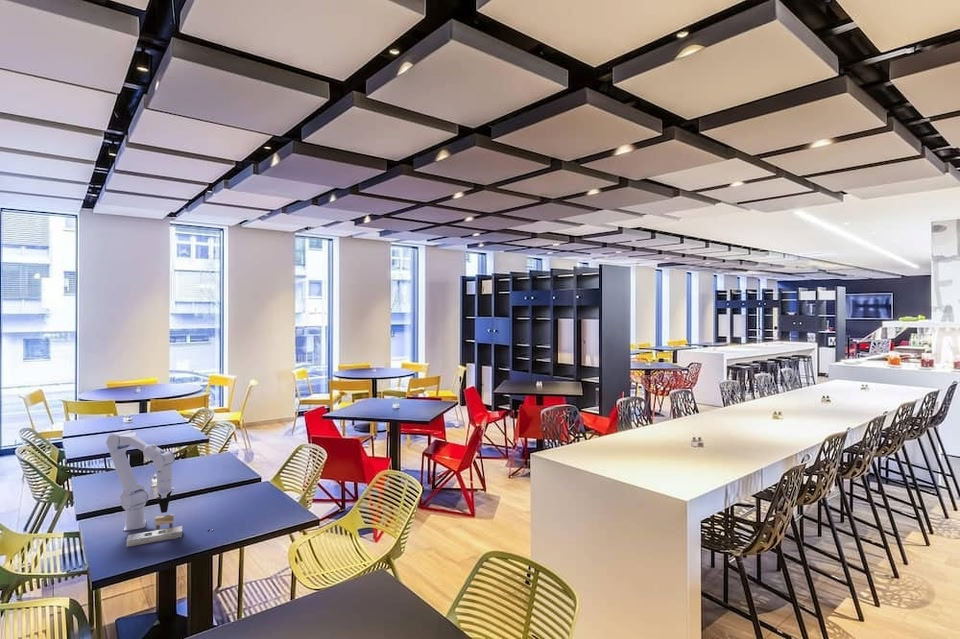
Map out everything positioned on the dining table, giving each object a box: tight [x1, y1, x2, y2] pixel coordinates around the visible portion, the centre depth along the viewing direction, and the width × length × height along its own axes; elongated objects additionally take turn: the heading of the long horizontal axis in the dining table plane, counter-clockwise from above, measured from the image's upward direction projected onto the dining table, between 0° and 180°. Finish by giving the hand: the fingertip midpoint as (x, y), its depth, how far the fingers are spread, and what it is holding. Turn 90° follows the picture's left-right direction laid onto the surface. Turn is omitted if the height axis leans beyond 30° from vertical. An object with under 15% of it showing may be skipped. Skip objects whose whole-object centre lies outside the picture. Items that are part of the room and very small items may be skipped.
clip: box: [154, 513, 175, 531], centre depth 235 cm, size 3×7×6 cm, turn 119°
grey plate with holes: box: [126, 525, 183, 548], centre depth 225 cm, size 7×20×2 cm, turn 119°
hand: (164, 509), depth 235 cm, fingers open, 7 cm apart
